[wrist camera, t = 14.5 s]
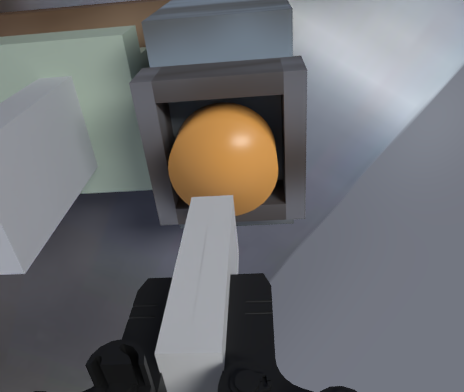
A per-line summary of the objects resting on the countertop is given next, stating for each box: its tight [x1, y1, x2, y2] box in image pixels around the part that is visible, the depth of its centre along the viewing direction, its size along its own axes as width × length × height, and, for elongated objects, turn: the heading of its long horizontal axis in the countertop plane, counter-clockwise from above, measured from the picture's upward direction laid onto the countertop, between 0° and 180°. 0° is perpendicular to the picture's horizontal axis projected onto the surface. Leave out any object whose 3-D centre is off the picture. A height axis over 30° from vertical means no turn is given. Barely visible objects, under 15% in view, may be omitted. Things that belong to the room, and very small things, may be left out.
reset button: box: [168, 102, 278, 216], centre depth 19 cm, size 5×5×2 cm
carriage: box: [0, 25, 152, 275], centre depth 23 cm, size 10×9×15 cm
